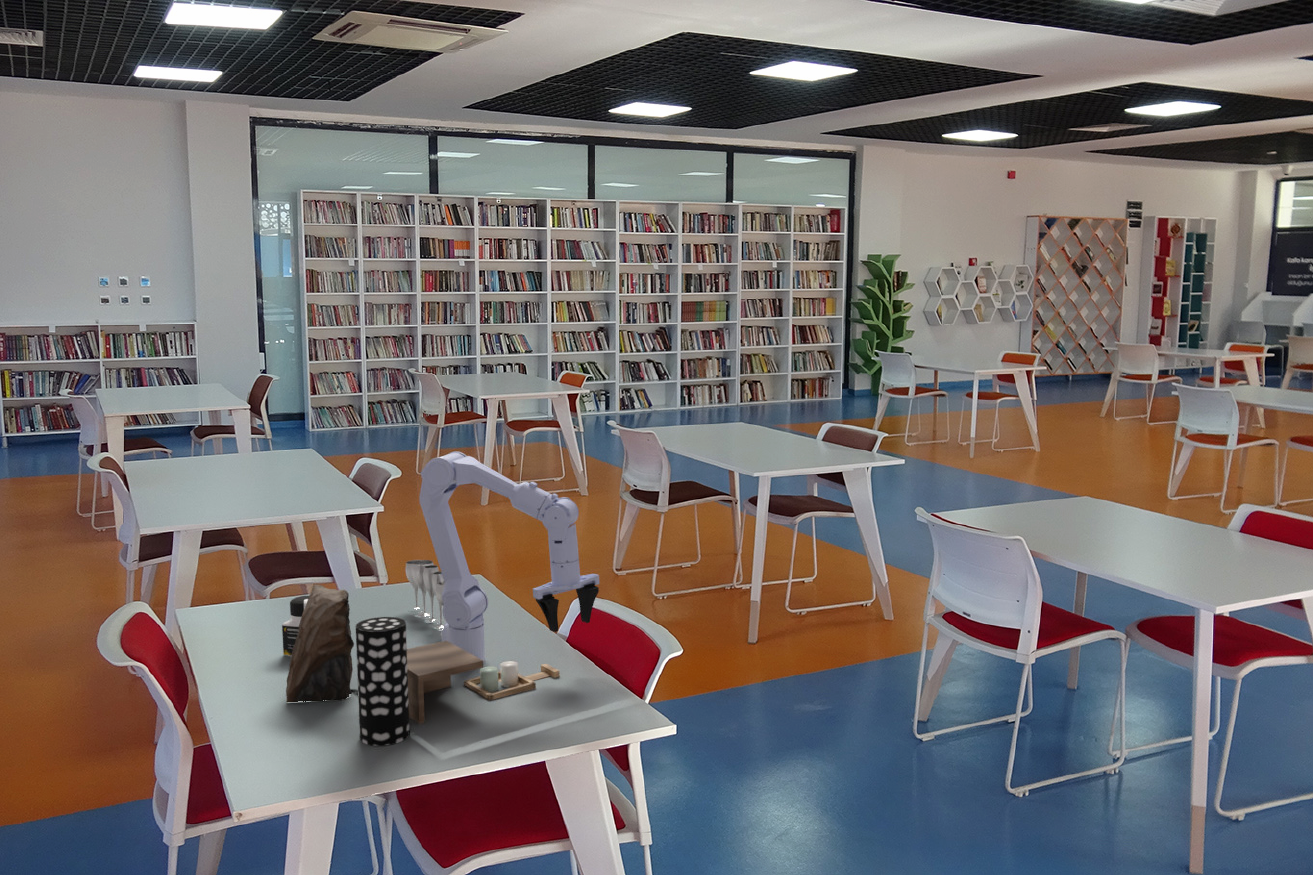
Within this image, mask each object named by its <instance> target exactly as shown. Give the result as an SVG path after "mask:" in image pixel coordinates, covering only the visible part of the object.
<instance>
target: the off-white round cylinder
mask: <svg viewBox="0 0 1313 875" xmlns="http://www.w3.org/2000/svg"><path fill="white" fill-rule="evenodd" d="M518 664H519V663H518V662H517V661H513V660H508V661H507V660H506V661H503V662H501V663H500V664H499V670H500V674H501V682H500V686H501V687H504V688H509V687H514V686H517V685H518V684H519V679H518V674H519V665H518Z"/></svg>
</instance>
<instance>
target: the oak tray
mask: <svg viewBox="0 0 1313 875" xmlns="http://www.w3.org/2000/svg"><path fill="white" fill-rule="evenodd" d="M540 671H541V672H537V673H533V674H530V675H526V676H523V675H522V674H520V673H518V679H519V684H518V685H517V686H514V687H508V688H505V689H503V690H497V691H495V692H487V691H486V690H484V689H482V688H481V686H480V685H478V684H480V676H478V677H473V678H469V679H465V680H463V684H464V686H465V687H467V688H468V689H470V690H472V691H473V692H475V693H477V694H479V695H480V696H482V697H483V698H485V699H486V700H487V701H492V700H493V701H494V700H496V699H500V698H503V697H507V696H510V695H515V694H518V693H523V692H526V691H531V690H534V689H536V687H537V686H536V685H537V684H536V681H538V680H539V681H540V680H543V679H546V678H550V677H551V678H559V677H561V676H560V669H557V668H556V667H553V666H552V665H549V664H547V663H544V664H540ZM499 682H500V683H501V674H500V671H499V670H498V683H499Z"/></svg>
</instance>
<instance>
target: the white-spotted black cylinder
mask: <svg viewBox="0 0 1313 875" xmlns="http://www.w3.org/2000/svg"><path fill="white" fill-rule="evenodd" d="M407 644H408V642H407V622H406V619H402V618H400V617H397V616H396V617H395V616H378V617H373V618H368V619H363V620H361V621H359V622H357V623H356V624H355V646H356V647H355V648H356V649H355V650H356V668H357V669H356V672H357V697H358V720H359V721H358V724H359V739H360V742H362V743H363V744H364V745H368V746H372V747H373V746H374V747H375V746H378V747H383V746H391V745H396V744H399V743H401V742H403V741H404V740H406V739H407V738H408V737H409V736H410V717H409V702H408V672H407V649H408V648H407V647H408V645H407Z"/></svg>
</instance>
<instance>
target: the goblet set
mask: <svg viewBox="0 0 1313 875" xmlns="http://www.w3.org/2000/svg"><path fill="white" fill-rule="evenodd" d="M439 569H440V568H439V566H438V565H437V564H434V561H433V560H430V559H412V560H407V561H406V562H405V575H406V578H407V581H408V582H409V583H410V584H411V586H412V588H413V590H414V597H415V606H413V607H414V609H416V610H417V609H420V607H421V606H418V593H419V591H418V590H420V592H421V596H422V603H423V604H422V605H423V606H422V607H424V611H423V612H424V613H423V612H419V613H420V614H418V613H417V614H418V616H421V617H423V616H424V617H426V616H430V613H425V612H426V610H425V608H426V596H427V595H426V593H428V595H429V598H430V605H431V613H432V617H431V618H427V620H429V621H430V622H431V621H432V622H433V621H435V620H439V619H440V622H439V624H438V625H439V626H438V625H436V626H437V627H436V628H439V629H440V628H443V627H444V625H445V624H443V599H442V592H443V588H444V584H445V582H444V579H443V575H442V572H441V570H439ZM435 597H436V600H437V601H438V607H439V618H434V616H433V613H434V600H435V599H434V598H435ZM440 635H442V634H439V636H440Z"/></svg>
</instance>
